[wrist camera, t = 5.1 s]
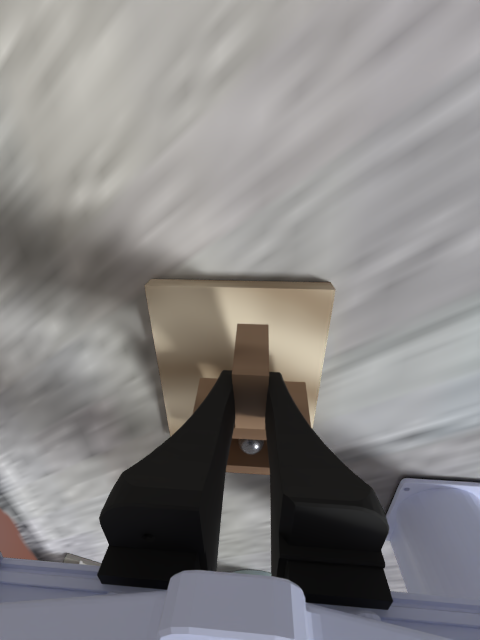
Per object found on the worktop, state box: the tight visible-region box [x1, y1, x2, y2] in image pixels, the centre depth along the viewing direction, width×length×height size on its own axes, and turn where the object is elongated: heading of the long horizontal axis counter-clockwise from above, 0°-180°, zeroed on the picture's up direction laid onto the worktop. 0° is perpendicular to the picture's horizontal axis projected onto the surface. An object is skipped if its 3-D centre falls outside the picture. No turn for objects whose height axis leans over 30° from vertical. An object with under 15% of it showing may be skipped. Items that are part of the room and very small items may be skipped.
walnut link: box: [193, 324, 311, 475], centre depth 16 cm, size 11×6×3 cm, turn 0°
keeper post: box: [238, 439, 264, 455], centre depth 18 cm, size 2×2×4 cm
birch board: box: [144, 279, 335, 437], centre depth 20 cm, size 14×11×1 cm
